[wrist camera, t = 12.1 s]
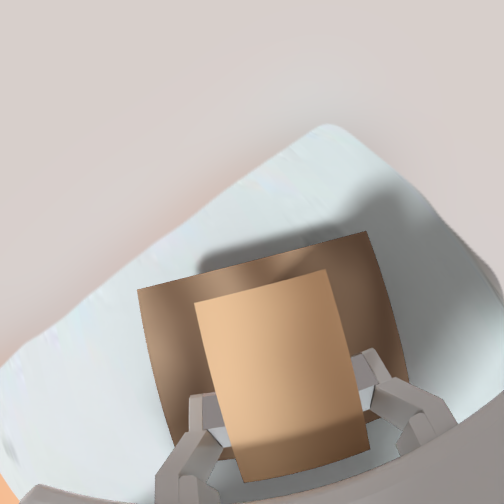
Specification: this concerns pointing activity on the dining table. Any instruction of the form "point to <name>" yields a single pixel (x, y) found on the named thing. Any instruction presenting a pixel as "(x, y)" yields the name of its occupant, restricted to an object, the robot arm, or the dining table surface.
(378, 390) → the robot arm
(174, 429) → the walnut shelf
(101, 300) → the dining table surface
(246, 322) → the ochre block
